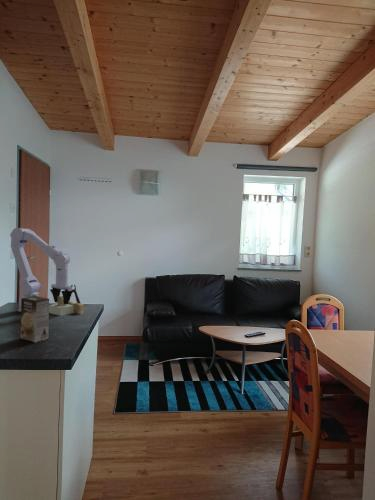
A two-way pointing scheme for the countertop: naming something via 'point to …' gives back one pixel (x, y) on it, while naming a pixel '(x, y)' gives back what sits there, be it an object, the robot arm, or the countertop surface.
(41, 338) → the coffee box
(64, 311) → the socket block
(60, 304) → the dowel
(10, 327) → the countertop surface
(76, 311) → the oak wall
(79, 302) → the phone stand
